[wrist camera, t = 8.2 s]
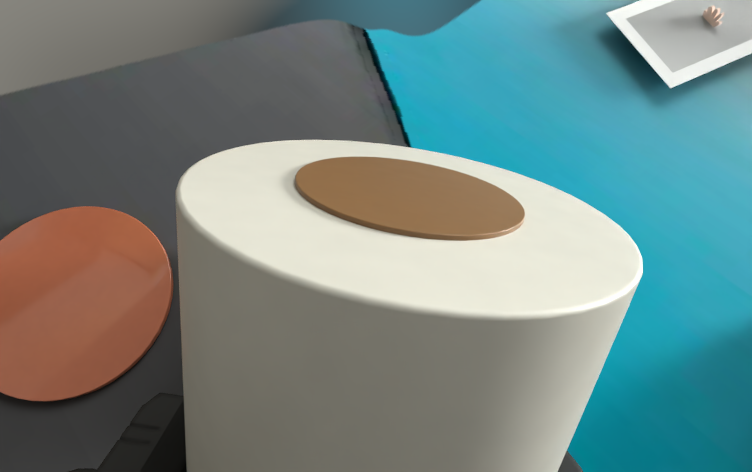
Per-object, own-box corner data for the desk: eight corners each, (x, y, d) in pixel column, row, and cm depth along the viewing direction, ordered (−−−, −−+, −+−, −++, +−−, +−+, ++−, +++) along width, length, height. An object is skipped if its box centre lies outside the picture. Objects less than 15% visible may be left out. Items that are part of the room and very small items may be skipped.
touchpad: (796, 38, 37) (822, 17, 35) (660, 97, 34) (680, 78, 32) (731, -25, 40) (752, -49, 37) (598, 24, 36) (613, 1, 34)
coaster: (130, 179, 28) (127, 176, 28) (205, 329, 25) (203, 328, 25) (-61, 265, 25) (-67, 263, 25) (-2, 446, 22) (-7, 446, 22)
